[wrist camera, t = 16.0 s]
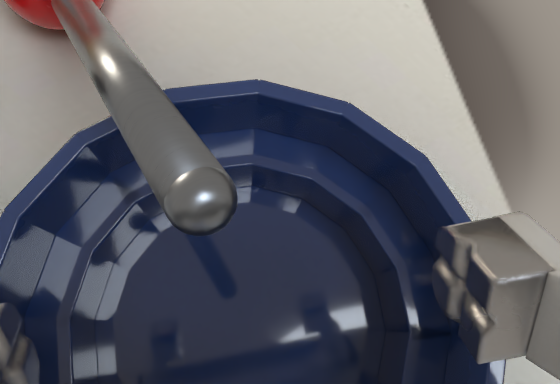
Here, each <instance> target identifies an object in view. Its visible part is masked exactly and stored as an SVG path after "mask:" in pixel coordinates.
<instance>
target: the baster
mask: <svg viewBox="0 0 560 384" xmlns="http://www.w3.org/2000/svg"><path fill="white" fill-rule="evenodd" d="M4 1H5V3H6V4H7V5H8V6H9V7H10V8H11V9H12V10H13V11H14V12H15V13H16V14H17V15H19V16H20V17H22V18H23V19H25V20H27V21H28V22H30V23H32V24H34V25H37V26H40V27H43V28H47V29H55V30H63V29H64V30H65V31H66V33H67V35H68V37H69V39H70V41H71V42H72V44H73V46H74V48H75V50H76V52H77V53H78V55H79V57H80V59H81V61H82V63H83V64H84V66H85V68H86V70H87V72H88V74H89V75H90V77H91V79H92V81H93V83H94V85H95V86H96V88H97V90H98V92H99V94H100V96H101V97H102V99H103V101H104V103H105V105H106V107H107V108H108V110H109V112H110V114H111V116H112V118H113V120H114V121H115V123H116V125H117V127H118V129H119V131H120V132H121V134H122V136H123V138H124V140H125V142H126V143H127V145H128V147H129V149H130V151H131V153H132V154H133V156H134V158H135V160H136V162H137V164H138V165H139V167H140V169H141V171H142V173H143V175H144V176H145V178H146V180H147V182H148V184H149V186H150V187H151V189H152V191H153V193H154V195H155V197H156V198H157V200H158V202H159V204H160V206H161V208H162V209H163V211H164V213H165V215H166V217H167V218H168V220H169V221H170V222H171V224H172V225H173V226H174V227H176V228H177V229H178V230H180V231H181V232H183V233H185V234H189V235H192V236H207V235H211V234H214V233H216V232H218V231H220V230H222V229H223V228H224V227H225V226H226V225H227V224H228V223H229V222H230V221H231V219H232V217H233V216H234V214H235V211H236V208H237V201H238V196H237V191H236V187H235V184H234V183H233V181H232V179H231V177H230V176H229V175H228V173H227V172H226V171H225V169H224V168H223V167H222V166H221V164H220V163H219V162H218V160H217V159H216V158H215V157H214V155H213V154H212V153H211V152H210V150H209V149H208V148H207V146H206V145H205V144H204V143H203V141H202V140H201V139H200V137H199V136H198V135H197V134H196V132H195V131H194V130H193V129H192V127H191V126H190V125H189V123H188V122H187V121H186V120H185V118H184V117H183V116H182V114H181V113H180V112H179V111H178V109H177V108H176V107H175V106H174V104H173V103H172V102H171V100H170V99H169V98H168V97H167V95H166V94H165V93H164V91H163V90H162V89H161V88H160V86H159V85H158V84H157V82H156V81H155V80H154V79H153V77H152V76H151V75H150V74H149V72H148V71H147V70H146V68H145V67H144V66H143V65H142V63H141V62H140V61H139V59H138V58H137V57H136V56H135V54H134V53H133V52H132V51H131V49H130V48H129V47H128V45H127V44H126V43H125V42H124V40H123V39H122V38H121V36H120V35H119V34H118V33H117V31H116V30H115V29H114V28H113V26H112V25H111V24H110V22H109V21H108V20H107V19H106V17H105V16H104V15H103V13H102V12H101V11H100V8H101V7H102V5H103V3H104V1H105V0H4Z"/></svg>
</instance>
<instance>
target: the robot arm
mask: <svg viewBox="0 0 560 384" xmlns="http://www.w3.org/2000/svg"><path fill="white" fill-rule="evenodd" d="M435 247H436V248H437V249H438V251H439V252H440V253H441V256H440V257H439V258H438V260H437V261H436V262H435V263H434V265H433V269H432V285H433V290H434V295H435V297H436V300H437V302H438V304H439V306H440V308H441V309H442V311H443V313H444V314H445V316H447V317H449V318H450V319H452V320H454V321H456V322H458V323H460V325H459V332H458V335H459V337H460V338H461V340H462V341H463V343H464V344H465V346H466V347H467V349H468V350H469V352H470V353H471V355H472V356H473V358H474V359H475V361H476V362H477V363H478V364H483V363H488V362H494V361H499V360H504V359H510V358H515V357H521V356H526V359H528V360H529V361H531V362H532V363H534V364H535V365H537V366H539V367H540V368H542V369H543V370H545V371H546V372H548V373H549V374H551V375H553V376H554V377H556V378H557V379H559V380H560V242H559V241H558V240H557V239H556V238H555V237H554V236H553V235H551V234H550V233H549V232H548V231H547V230H546V229H545V228H543V227H542V226H541V225H540V224H539V223H537V222H536V221H535V220H534V219H533V218H532V217H531V216H529V215H528V214H526V213H523V212H520V211H519V212H514V213H509V214H504V215H499V216H494V217H492V218H488V219H482V220H476V221H471V222H465V223H460V224H454V225H449V226H443V227H440V228H439V230H438V232H437V234H436V241H435ZM21 323H22V318H21V316H20V314H19V312H18V310H17V308H16V306H15V305H14V304H11V303H8V302H5V303H0V384H39V368H40V363H39V359H38V354H37V350H36V348H35V346H34V343H33V341H32V339H30V338H28V337H26V336H25V335H23V334H21V333H19V329H20V326H21Z"/></svg>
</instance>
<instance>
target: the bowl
mask: <svg viewBox="0 0 560 384" xmlns="http://www.w3.org/2000/svg"><path fill="white" fill-rule="evenodd" d="M163 91H164V93H165V94H166V95H167V97H168V98H169V99H170V100H171V102H172V103H173V104H174V106H175V107H176V108H177V109H178V111H179V112H180V113H181V114H182V116H183V117H184V118H185V120H186V121H187V122H188V123H189V125H190V126H191V127H192V129H193V130H194V131H195V132H196V134H197V135H198V136H199V137H200V139H201V140H202V141H203V143H204V144H205V145H206V146H207V148H208V149H209V150H210V152H211V153H212V154H213V155H214V157H215V158H216V159H217V160H218V162H219V163H220V164H221V166H222V167H223V168H224V169H225V171H226V172H227V173H228V175H229V176H230V177H231V179H232V181H233V183H234V184H235V187H236V191H237V196H238V201H237V208H236V211H235V214H234V216H233V217H232V219H231V221H230V222H229V223H228V224H227V225H226V226H225V227H224V228H223V229H222V230H220V231H218V232H216V233H214V234H211V235H207V236H192V235H189V234H185V233H183V232H181V231H180V230H178V229H177V228H176V227H174V226H173V225H172V224H171V222H170V221H169V220H168V218H167V217H166V215H165V213H164V211H163V209H162V208H161V206H160V204H159V202H158V200H157V198H156V197H155V195H154V193H153V191H152V189H151V187H150V186H149V184H148V182H147V180H146V178H145V176H144V175H143V173H142V171H141V169H140V167H139V165H138V164H137V162H136V160H135V158H134V156H133V154H132V153H131V151H130V149H129V147H128V145H127V143H126V142H125V140H124V138H123V136H122V134H121V132H120V131H119V129H118V127H117V125H116V123H115V121H114V120H113V118H112V116H109V117H107V118H105V119H103V120H101V121H99V122H97V123H95V124H93V125H91V126H89V127H87V128H85V129H83V130H81V131H79V132H77V133H76V134H74V135H73V136H72V137H71V138H70V139H69V141H68V142H67V143H66V144H65V145H64V146H63V147H62V148H61V149H60V150H59V151H58V152H57V153H56V154H55V156H54V157H53V158H52V159H51V160H50V161H49V162H48V163H47V164H46V165H45V166H44V167H43V168H42V169H41V171H40V172H39V173H38V174H37V175H36V176H35V177H34V178H33V179H32V180H31V181H30V182H29V183H28V184H27V186H26V187H25V188H24V189H23V190H22V191H21V192H20V193H19V194H18V195H17V196H16V197H15V198H14V199H13V200H12V202H11V203H10V204H9V205H8V206H7V207H6V208H5V209H4V211H3V212H2V215H1V217H0V303H5V302H8V303H11V304H14V305H15V306H16V308H17V310H18V312H19V314H20V316H21V318H22V323H21V326H20V329H19V333H21V334H23V335H25V336H26V337H28V338H30V339H32V341H33V343H34V346H35V348H36V350H37V354H38V359H39V363H40V368H39V384H503V383H504V374H505V365H506V359H504V360H499V361H494V362H488V363H483V364H478V363H477V362H476V361H475V359H474V358H473V356H472V355H471V353H470V352H469V350H468V349H467V347H466V346H465V344H464V343H463V341H462V340H461V338H460V337H459V335H458V332H459V325H460V323H458V322H456V321H454V320H452V319H450V318H449V317H447V316H445V314H444V313H443V311H442V309H441V308H440V306H439V304H438V302H437V300H436V297H435V295H434V290H433V285H432V269H433V265H434V263H435V262H436V261H437V260H438V258H439V257H440V256H441V253H440V252H439V251H438V249H437V248H436V247H435V241H436V234H437V232H438V230H439V228H440V227H443V226H449V225H454V224H460V223H465V222H471V220H470V218H469V217H468V215H467V214H466V212H465V211H464V210H463V208H462V207H461V205H460V204H459V202H458V201H457V200H456V198H455V197H454V195H453V194H452V192H451V191H450V190H449V188H448V187H447V185H446V184H445V182H444V181H443V179H442V178H441V177H440V175H439V174H438V172H437V171H436V169H435V168H434V167H433V165H432V164H431V162H430V161H429V159H428V158H427V157H426V156H425V155H424V154H423V153H421V152H420V151H418V150H417V149H415V148H414V147H413V146H411V145H410V144H408V143H407V142H405V141H404V140H402V139H401V138H400V137H398V136H397V135H395V134H394V133H392V132H391V131H390V130H388V129H387V128H385V127H384V126H382V125H381V124H379V123H378V122H377V121H375V120H374V119H372V118H371V117H369V116H368V115H367V114H365V113H364V112H362V111H361V110H359V109H358V108H357V107H355V106H354V105H352V104H351V103H348V102H346V101H342V100H338V99H334V98H330V97H326V96H322V95H318V94H315V93H311V92H307V91H303V90H299V89H295V88H291V87H287V86H284V85H280V84H276V83H272V82H268V81H264V80H258V79H255V80H246V81H236V82H226V83H217V84H207V85H198V86H188V87H179V88H169V89H165V90H163Z"/></svg>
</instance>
